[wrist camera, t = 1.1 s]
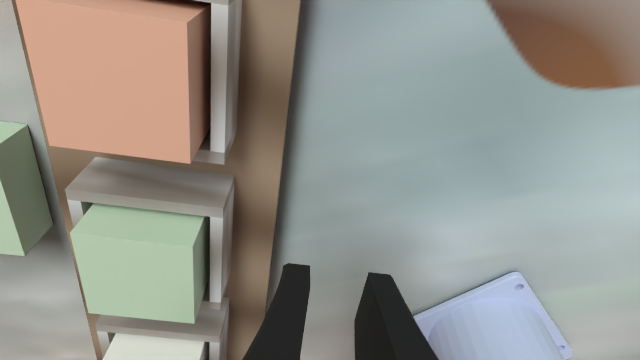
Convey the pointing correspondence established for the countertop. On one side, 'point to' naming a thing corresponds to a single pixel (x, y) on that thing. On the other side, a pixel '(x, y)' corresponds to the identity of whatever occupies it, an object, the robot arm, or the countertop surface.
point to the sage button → (142, 262)
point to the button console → (207, 177)
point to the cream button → (155, 348)
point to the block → (20, 192)
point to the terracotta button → (122, 74)
